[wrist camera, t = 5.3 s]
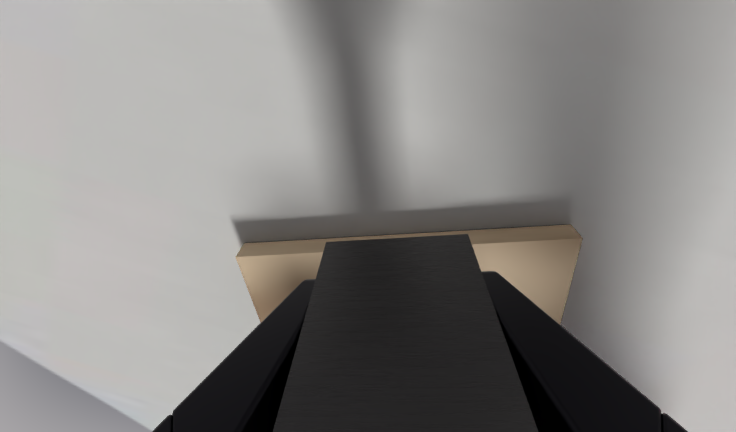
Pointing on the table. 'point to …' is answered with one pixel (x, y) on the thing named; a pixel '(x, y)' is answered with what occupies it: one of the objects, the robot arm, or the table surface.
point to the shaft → (402, 344)
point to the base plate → (491, 246)
